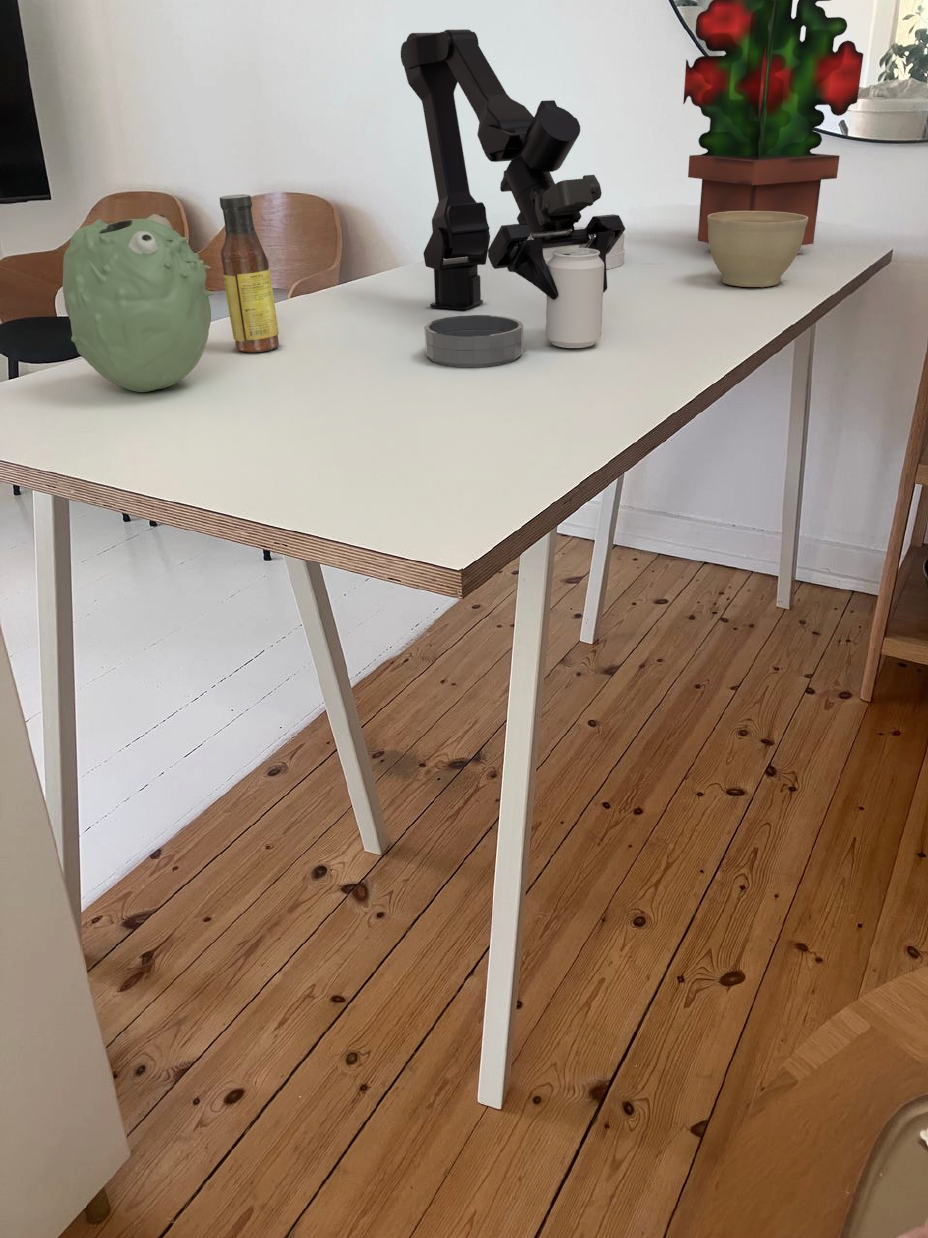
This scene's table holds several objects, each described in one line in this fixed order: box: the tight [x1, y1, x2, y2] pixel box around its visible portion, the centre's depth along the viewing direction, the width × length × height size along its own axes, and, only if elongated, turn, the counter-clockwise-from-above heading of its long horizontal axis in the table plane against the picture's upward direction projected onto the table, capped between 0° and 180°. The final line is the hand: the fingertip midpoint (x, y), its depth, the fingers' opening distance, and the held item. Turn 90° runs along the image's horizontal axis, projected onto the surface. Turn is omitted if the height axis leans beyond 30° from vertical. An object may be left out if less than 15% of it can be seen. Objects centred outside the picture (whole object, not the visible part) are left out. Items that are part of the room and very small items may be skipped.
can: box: [545, 248, 604, 349], centre depth 141 cm, size 8×8×12 cm
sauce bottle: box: [219, 193, 280, 353], centre depth 142 cm, size 7×6×20 cm
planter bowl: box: [707, 211, 808, 288], centre depth 178 cm, size 16×16×11 cm
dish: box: [543, 226, 626, 270], centre depth 203 cm, size 22×22×5 cm
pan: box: [423, 314, 524, 368], centre depth 139 cm, size 13×13×4 cm
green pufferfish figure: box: [62, 213, 215, 393], centre depth 125 cm, size 16×19×20 cm
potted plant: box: [682, 0, 864, 246], centre depth 198 cm, size 22×22×45 cm
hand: (580, 294), depth 139 cm, fingers closed on can, 7 cm apart
